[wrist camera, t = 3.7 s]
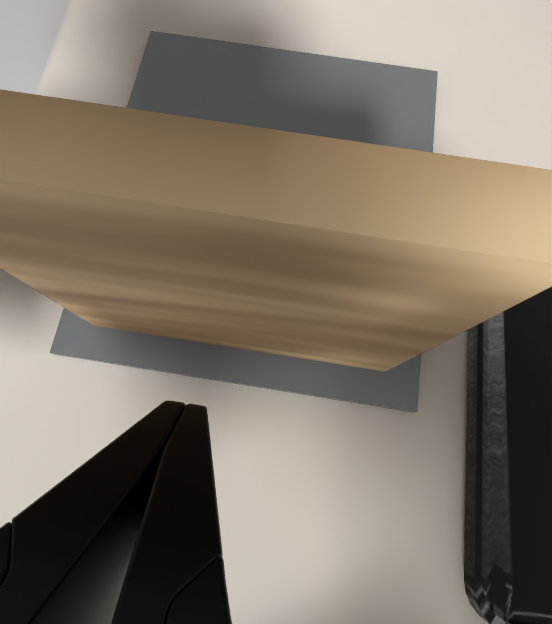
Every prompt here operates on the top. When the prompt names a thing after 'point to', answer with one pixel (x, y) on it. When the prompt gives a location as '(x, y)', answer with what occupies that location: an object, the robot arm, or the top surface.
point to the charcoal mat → (285, 117)
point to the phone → (510, 465)
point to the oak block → (263, 232)
